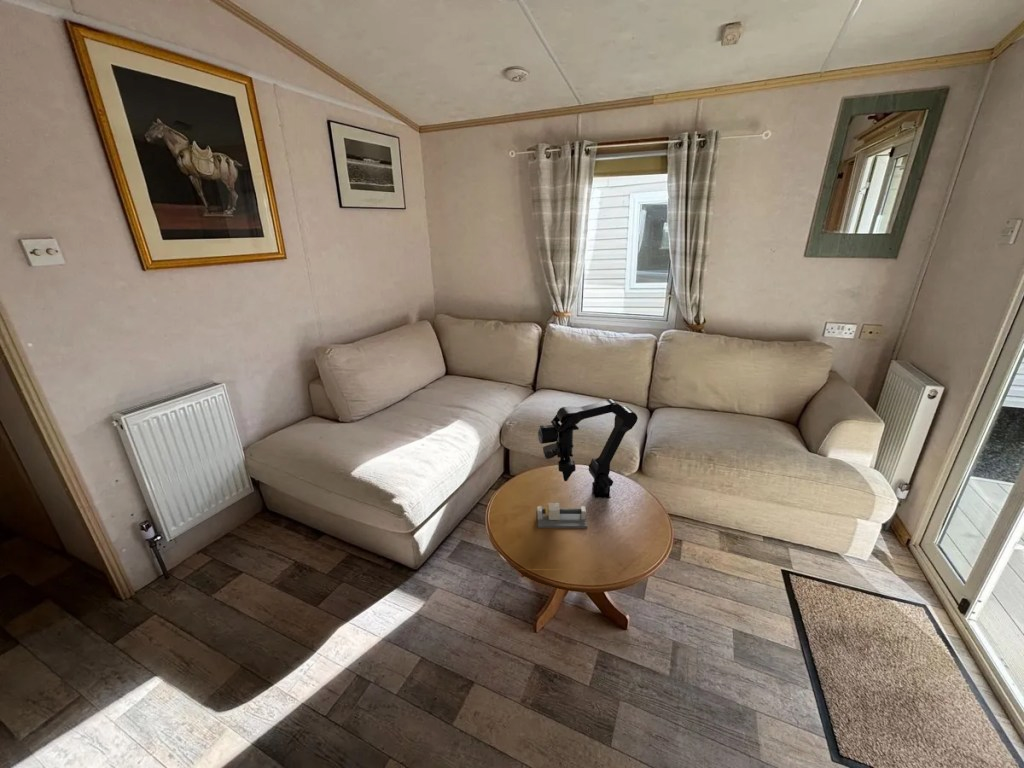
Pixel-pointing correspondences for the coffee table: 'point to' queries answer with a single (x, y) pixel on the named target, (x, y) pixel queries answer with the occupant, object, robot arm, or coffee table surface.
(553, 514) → the sleeve
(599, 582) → the coffee table surface
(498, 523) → the coffee table surface
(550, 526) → the grey rod slide mechanism
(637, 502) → the coffee table surface
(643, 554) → the coffee table surface
